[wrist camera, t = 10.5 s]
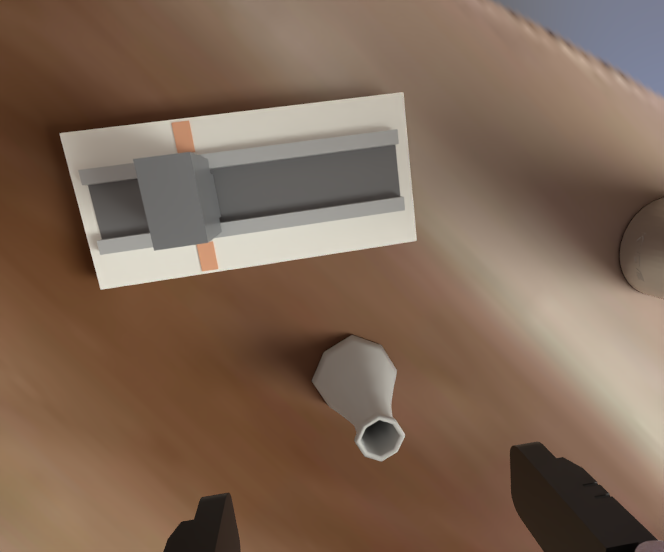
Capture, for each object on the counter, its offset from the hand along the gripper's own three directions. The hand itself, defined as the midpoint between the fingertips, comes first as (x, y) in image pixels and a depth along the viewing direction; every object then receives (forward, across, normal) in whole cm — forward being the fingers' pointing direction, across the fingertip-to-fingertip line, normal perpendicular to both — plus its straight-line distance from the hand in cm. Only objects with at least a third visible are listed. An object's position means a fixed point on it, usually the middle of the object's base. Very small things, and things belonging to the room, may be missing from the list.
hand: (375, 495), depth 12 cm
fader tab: (+21, +8, -9) cm, 24 cm away
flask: (+25, -2, +8) cm, 26 cm away
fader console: (+24, +4, -9) cm, 26 cm away
